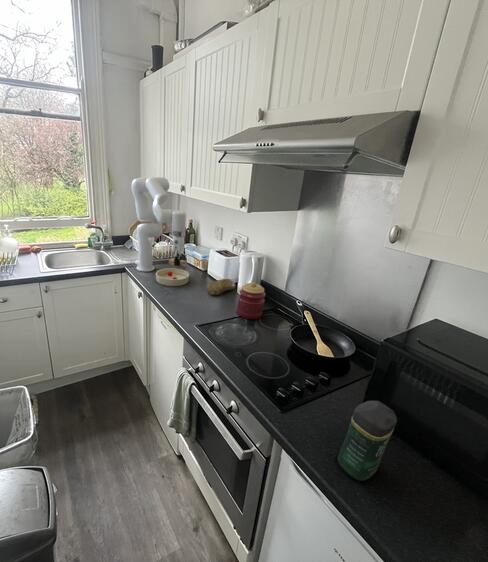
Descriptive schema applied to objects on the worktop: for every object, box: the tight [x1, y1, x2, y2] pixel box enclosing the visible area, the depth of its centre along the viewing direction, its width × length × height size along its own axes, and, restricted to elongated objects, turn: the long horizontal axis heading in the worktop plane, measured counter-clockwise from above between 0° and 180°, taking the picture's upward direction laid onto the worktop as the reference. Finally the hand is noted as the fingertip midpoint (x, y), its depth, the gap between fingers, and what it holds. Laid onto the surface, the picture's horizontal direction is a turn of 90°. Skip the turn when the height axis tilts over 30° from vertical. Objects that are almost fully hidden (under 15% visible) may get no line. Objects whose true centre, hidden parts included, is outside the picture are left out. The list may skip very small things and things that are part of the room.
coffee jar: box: [337, 400, 398, 482], centre depth 73 cm, size 10×8×19 cm
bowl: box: [155, 267, 190, 287], centre depth 189 cm, size 21×21×4 cm
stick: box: [168, 258, 188, 267], centre depth 174 cm, size 10×3×3 cm, turn 81°
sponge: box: [206, 278, 236, 296], centre depth 176 cm, size 13×8×20 cm
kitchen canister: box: [236, 281, 266, 320], centre depth 150 cm, size 13×13×18 cm
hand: (177, 264), depth 174 cm, fingers closed on stick, 2 cm apart
